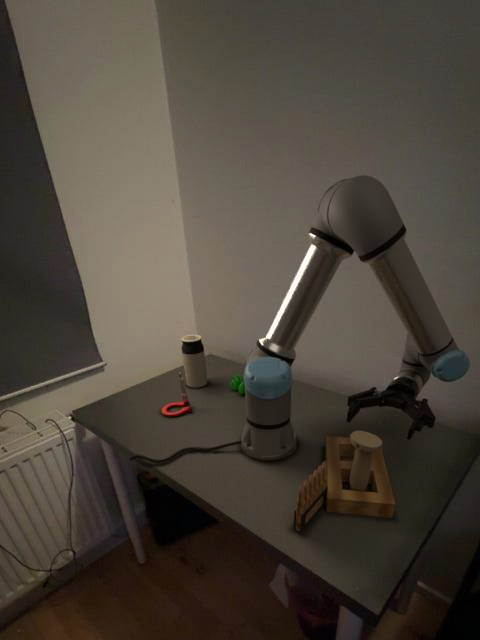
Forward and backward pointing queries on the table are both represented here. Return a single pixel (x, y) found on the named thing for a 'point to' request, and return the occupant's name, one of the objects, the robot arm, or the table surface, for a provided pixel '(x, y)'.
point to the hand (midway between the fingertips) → (377, 425)
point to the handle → (362, 458)
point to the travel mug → (194, 361)
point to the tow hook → (184, 403)
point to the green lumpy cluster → (238, 384)
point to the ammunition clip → (311, 498)
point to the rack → (339, 471)
